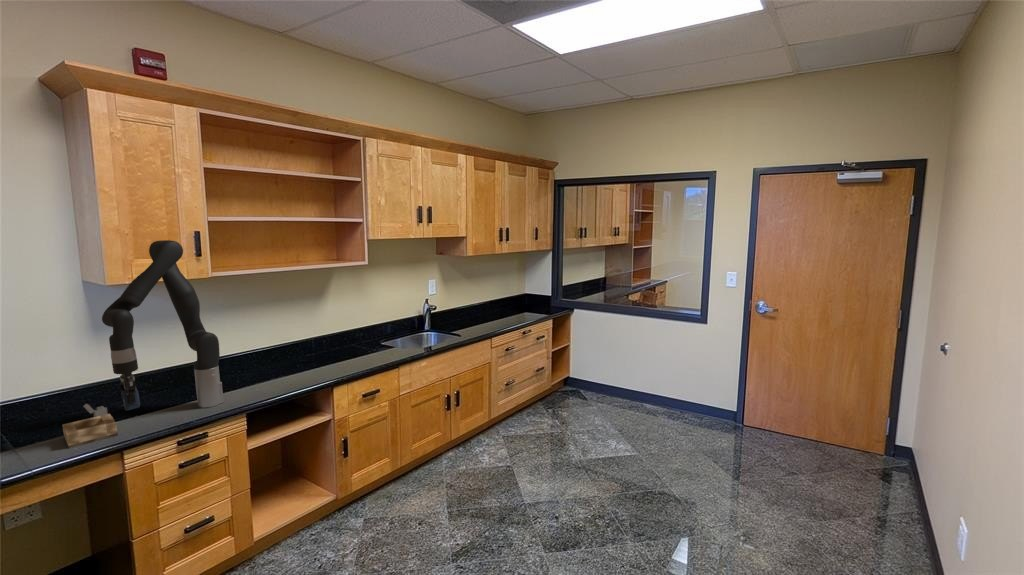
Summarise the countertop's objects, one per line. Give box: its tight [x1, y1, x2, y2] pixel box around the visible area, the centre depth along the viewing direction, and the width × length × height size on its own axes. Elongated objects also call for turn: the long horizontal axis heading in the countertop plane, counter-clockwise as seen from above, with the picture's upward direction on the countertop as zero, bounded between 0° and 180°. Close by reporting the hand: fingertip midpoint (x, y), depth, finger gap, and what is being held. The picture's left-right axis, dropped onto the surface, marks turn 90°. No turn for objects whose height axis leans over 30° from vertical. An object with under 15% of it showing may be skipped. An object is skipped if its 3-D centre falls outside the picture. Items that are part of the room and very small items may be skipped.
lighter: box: [82, 403, 109, 417], centre depth 198 cm, size 7×2×8 cm, turn 152°
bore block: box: [61, 413, 119, 449], centre depth 183 cm, size 14×14×5 cm
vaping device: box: [119, 381, 141, 412], centre depth 186 cm, size 3×5×12 cm, turn 142°
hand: (131, 401), depth 187 cm, fingers closed on vaping device, 2 cm apart
